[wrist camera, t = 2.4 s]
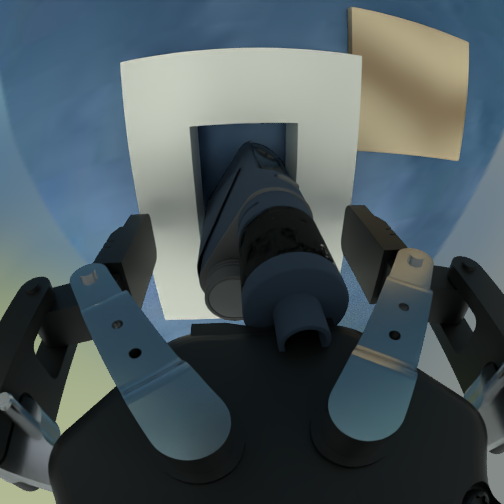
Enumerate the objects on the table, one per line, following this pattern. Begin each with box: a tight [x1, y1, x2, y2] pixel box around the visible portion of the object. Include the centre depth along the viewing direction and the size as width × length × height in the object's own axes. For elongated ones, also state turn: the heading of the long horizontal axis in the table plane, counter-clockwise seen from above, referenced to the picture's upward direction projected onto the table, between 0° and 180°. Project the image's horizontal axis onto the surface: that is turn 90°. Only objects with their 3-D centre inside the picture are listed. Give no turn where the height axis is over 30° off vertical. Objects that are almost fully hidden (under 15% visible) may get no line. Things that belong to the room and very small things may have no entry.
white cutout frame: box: [120, 48, 362, 320], centre depth 15 cm, size 14×10×3 cm
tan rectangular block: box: [348, 7, 469, 161], centre depth 13 cm, size 8×8×1 cm
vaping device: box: [197, 142, 349, 352], centre depth 11 cm, size 3×5×12 cm, turn 148°
